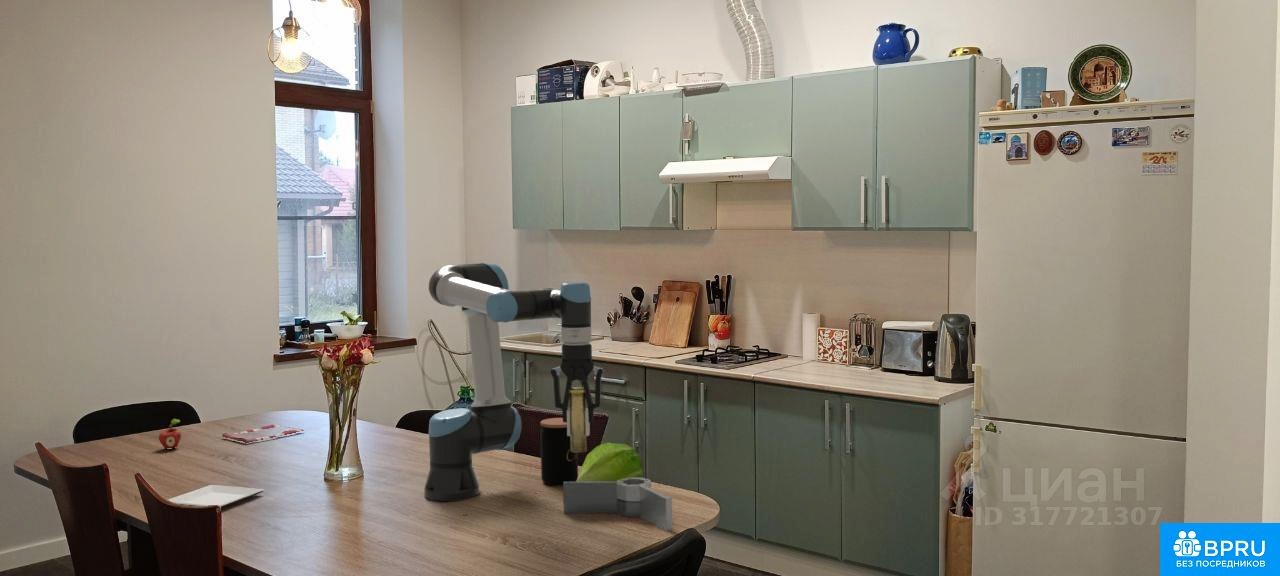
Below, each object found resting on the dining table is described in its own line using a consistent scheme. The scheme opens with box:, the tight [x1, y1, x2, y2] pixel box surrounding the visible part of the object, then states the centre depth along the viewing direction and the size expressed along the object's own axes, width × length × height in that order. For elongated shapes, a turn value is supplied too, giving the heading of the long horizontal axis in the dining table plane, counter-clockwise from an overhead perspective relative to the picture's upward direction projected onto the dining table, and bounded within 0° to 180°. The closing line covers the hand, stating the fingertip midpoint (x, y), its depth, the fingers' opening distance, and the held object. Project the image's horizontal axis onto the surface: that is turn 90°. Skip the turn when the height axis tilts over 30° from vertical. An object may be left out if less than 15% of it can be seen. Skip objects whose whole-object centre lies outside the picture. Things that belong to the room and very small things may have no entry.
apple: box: [158, 418, 182, 449], centre depth 342 cm, size 8×7×10 cm
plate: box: [167, 484, 265, 509], centre depth 275 cm, size 19×19×2 cm
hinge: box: [562, 477, 673, 532], centre depth 253 cm, size 28×21×8 cm
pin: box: [569, 386, 588, 454], centre depth 252 cm, size 5×5×16 cm
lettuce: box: [576, 442, 644, 481], centre depth 277 cm, size 15×22×15 cm
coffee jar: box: [540, 417, 579, 487], centre depth 290 cm, size 11×11×18 cm
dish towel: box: [221, 424, 305, 443], centre depth 361 cm, size 17×23×3 cm
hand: (578, 434), depth 252 cm, fingers closed on pin, 4 cm apart
